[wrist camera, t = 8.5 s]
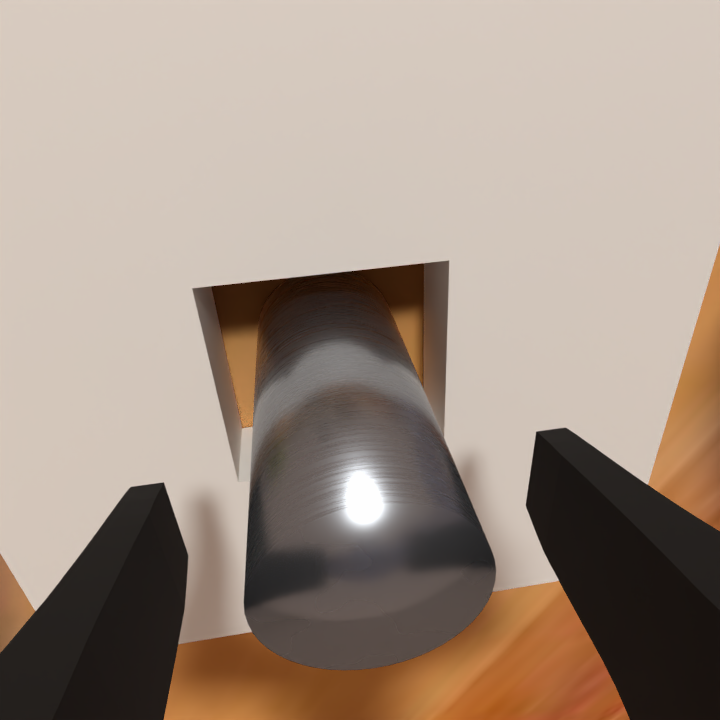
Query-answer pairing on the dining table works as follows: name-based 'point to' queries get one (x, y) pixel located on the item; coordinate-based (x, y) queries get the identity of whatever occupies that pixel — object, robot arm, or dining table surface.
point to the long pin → (352, 489)
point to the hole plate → (340, 240)
